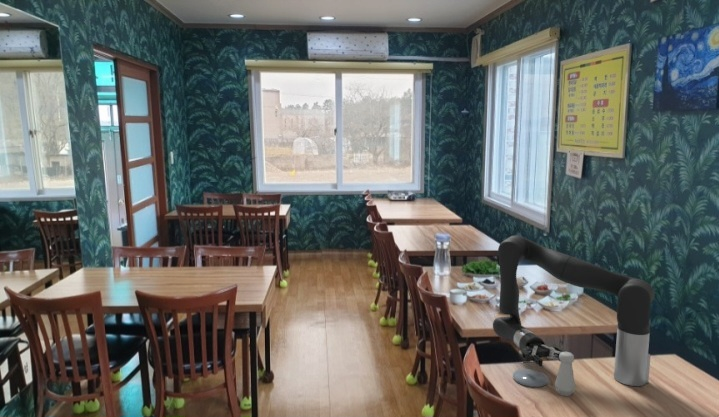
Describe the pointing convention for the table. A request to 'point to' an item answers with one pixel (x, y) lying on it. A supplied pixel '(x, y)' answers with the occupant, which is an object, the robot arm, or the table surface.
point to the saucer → (530, 378)
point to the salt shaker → (565, 375)
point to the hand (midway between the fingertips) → (553, 362)
